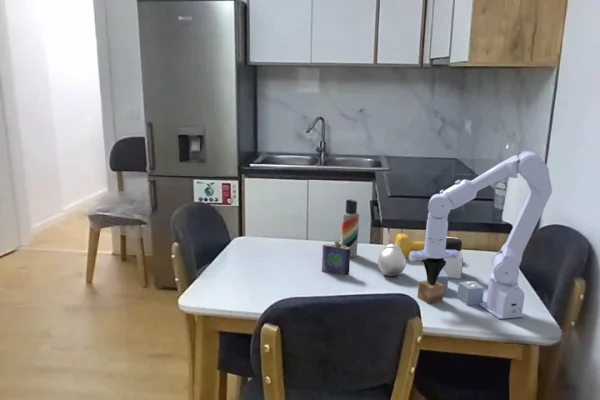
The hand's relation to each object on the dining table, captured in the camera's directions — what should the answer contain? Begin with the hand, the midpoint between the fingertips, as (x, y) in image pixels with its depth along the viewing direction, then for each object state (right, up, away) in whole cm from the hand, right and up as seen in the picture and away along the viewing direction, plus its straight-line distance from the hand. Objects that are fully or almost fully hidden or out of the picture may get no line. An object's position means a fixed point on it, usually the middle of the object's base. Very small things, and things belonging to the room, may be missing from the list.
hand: (431, 282), depth 153 cm
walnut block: (0, -5, +1) cm, 5 cm away
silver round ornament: (-8, -1, +19) cm, 21 cm away
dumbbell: (+6, +3, +37) cm, 37 cm away
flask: (-26, 0, +19) cm, 32 cm away
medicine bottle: (+11, -1, +21) cm, 24 cm away
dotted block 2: (+11, -5, +1) cm, 13 cm away
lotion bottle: (-20, +4, +36) cm, 42 cm away
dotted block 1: (+4, -3, +9) cm, 11 cm away
